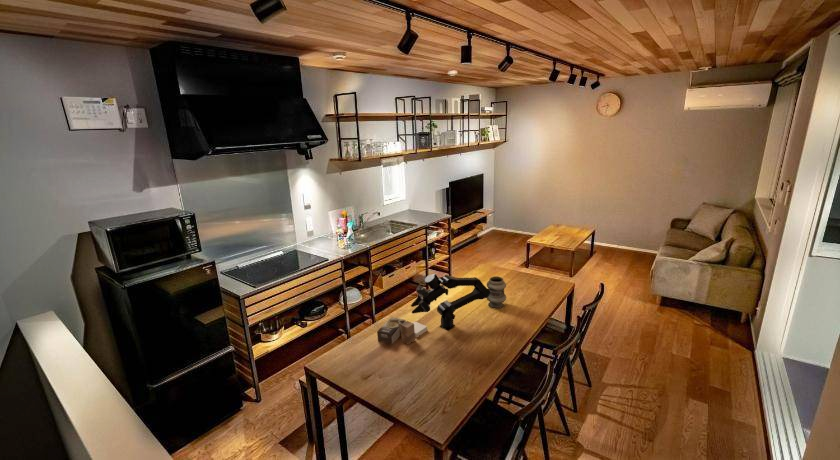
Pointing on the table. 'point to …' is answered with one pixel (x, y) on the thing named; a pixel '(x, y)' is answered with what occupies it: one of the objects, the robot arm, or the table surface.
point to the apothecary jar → (496, 292)
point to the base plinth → (419, 329)
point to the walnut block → (407, 332)
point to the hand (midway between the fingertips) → (411, 309)
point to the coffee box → (390, 330)
